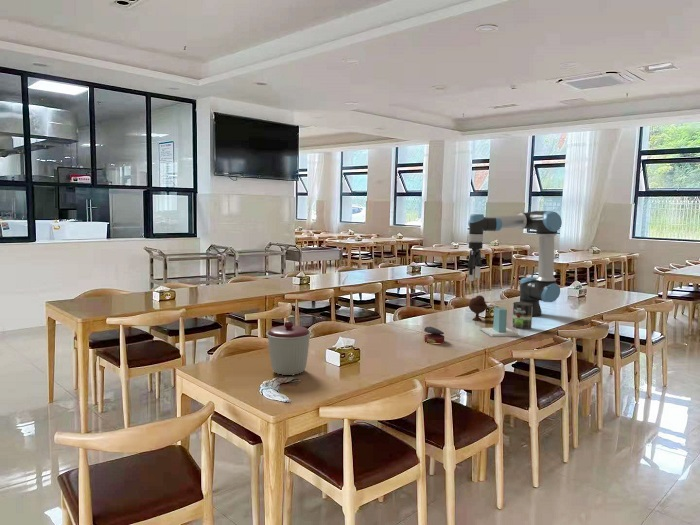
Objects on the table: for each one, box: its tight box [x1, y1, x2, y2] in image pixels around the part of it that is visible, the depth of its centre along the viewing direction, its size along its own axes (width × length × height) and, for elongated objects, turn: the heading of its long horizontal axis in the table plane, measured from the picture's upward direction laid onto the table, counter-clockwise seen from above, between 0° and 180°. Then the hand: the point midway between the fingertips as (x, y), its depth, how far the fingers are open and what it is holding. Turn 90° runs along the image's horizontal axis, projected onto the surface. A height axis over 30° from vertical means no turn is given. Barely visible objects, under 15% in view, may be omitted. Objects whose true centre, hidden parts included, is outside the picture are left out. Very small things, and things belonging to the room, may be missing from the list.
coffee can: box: [512, 301, 533, 331], centre depth 288 cm, size 10×10×14 cm
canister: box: [265, 320, 312, 376], centre depth 209 cm, size 18×18×21 cm
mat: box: [479, 329, 520, 338], centre depth 275 cm, size 16×16×1 cm
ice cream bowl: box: [467, 294, 488, 322], centre depth 308 cm, size 11×11×15 cm
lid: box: [481, 306, 519, 338], centre depth 274 cm, size 14×14×13 cm
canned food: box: [423, 326, 445, 344], centre depth 259 cm, size 11×10×10 cm
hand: (474, 279), depth 293 cm, fingers open, 13 cm apart
